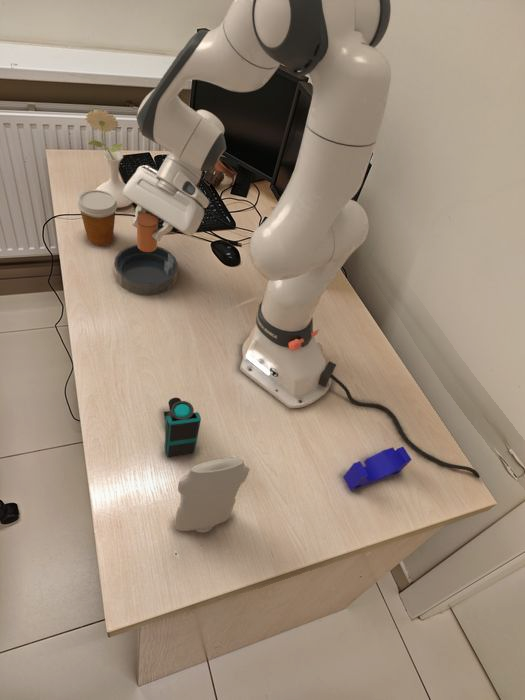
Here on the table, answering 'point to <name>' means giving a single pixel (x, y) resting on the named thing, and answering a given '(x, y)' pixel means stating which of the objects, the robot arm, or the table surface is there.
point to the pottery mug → (219, 173)
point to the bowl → (145, 270)
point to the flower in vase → (109, 156)
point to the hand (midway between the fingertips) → (145, 233)
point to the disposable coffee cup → (98, 215)
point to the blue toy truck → (377, 467)
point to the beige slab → (209, 493)
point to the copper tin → (146, 232)
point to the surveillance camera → (181, 428)
